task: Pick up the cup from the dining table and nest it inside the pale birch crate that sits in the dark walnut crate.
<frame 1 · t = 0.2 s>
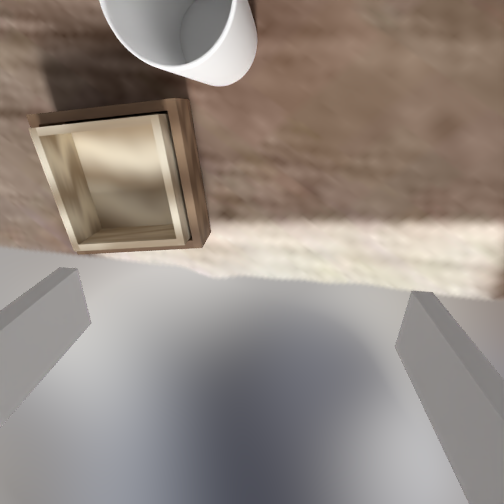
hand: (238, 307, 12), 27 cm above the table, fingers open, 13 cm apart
walnut crate: (139, 176, 38), on the table
cup: (218, 41, 32), on the table
birch crate: (135, 178, 38), resting on walnut crate
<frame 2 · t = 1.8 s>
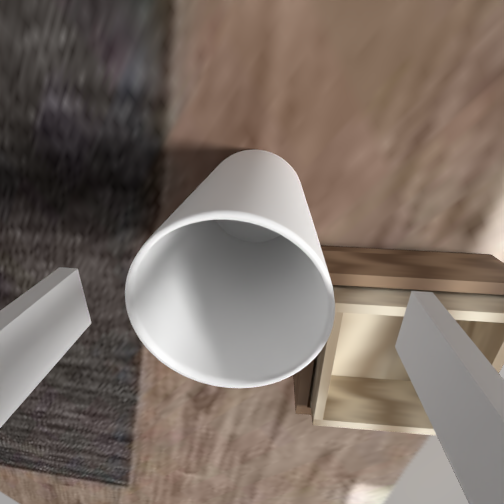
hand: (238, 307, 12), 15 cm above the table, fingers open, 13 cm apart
walnut crate: (379, 321, 31), on the table
cup: (254, 198, 26), on the table
birch crate: (382, 328, 30), resting on walnut crate
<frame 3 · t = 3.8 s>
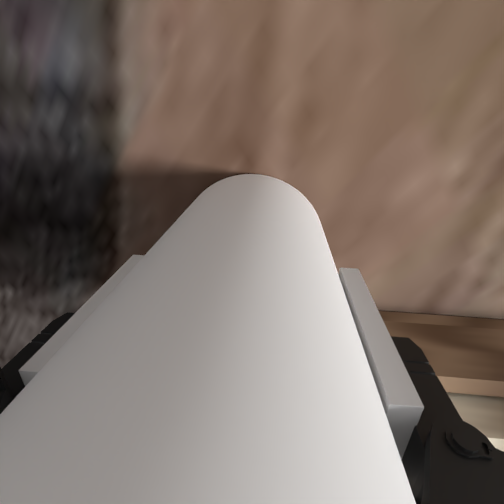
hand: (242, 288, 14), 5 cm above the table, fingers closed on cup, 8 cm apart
walnut crate: (425, 405, 22), on the table
cup: (252, 243, 18), on the table, touching gripper
birch crate: (431, 417, 21), resting on walnut crate
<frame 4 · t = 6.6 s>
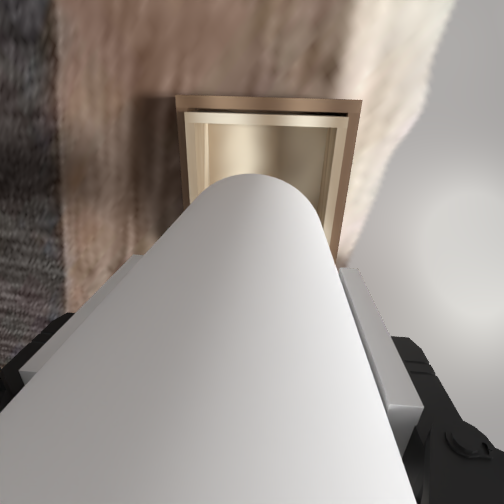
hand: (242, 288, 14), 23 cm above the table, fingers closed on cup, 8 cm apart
walnut crate: (265, 178, 34), on the table
cup: (252, 242, 18), point 18 cm above the table, touching gripper
birch crate: (264, 180, 33), resting on walnut crate
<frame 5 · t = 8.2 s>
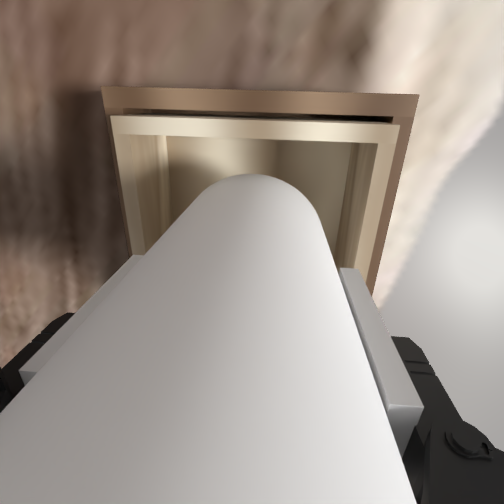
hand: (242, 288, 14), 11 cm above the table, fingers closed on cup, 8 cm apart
walnut crate: (256, 211, 23), on the table
cup: (252, 243, 18), point 6 cm above the table, touching gripper
birch crate: (255, 216, 22), resting on walnut crate
when the fingers open (8 cm above the table, at t = 9.6 s): cup drops 1 cm, resting on birch crate.
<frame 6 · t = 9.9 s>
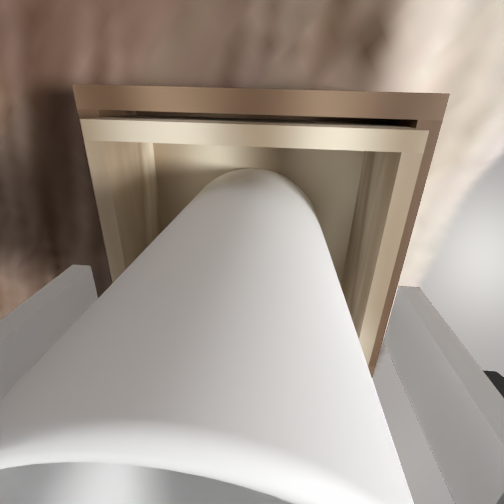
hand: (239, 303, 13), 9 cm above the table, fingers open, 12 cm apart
walnut crate: (255, 224, 21), on the table
cup: (252, 233, 19), point 2 cm above the table, touching birch crate
birch crate: (254, 230, 20), resting on walnut crate
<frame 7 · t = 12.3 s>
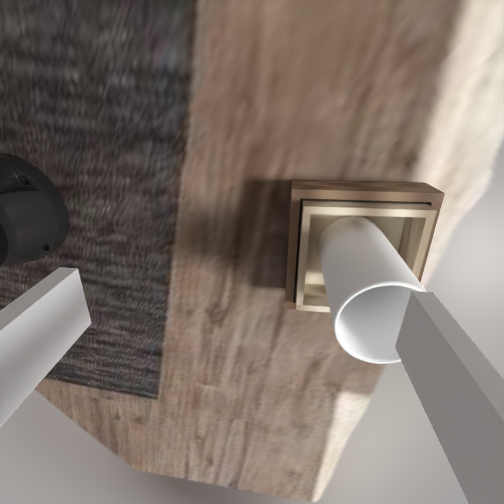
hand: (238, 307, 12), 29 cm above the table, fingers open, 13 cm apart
walnut crate: (348, 241, 41), on the table
cup: (349, 245, 40), point 2 cm above the table, touching birch crate
birch crate: (349, 244, 40), resting on walnut crate
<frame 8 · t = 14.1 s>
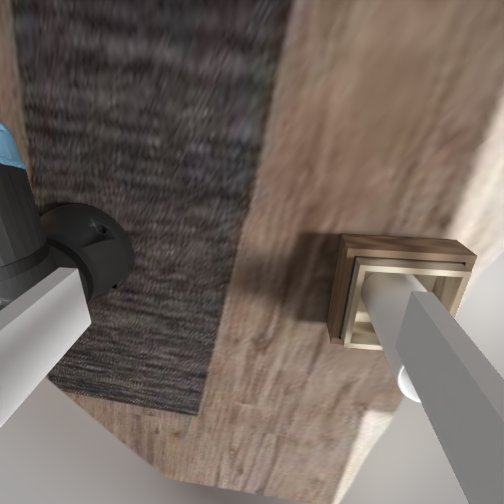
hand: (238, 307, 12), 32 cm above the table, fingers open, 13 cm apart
walnut crate: (386, 284, 47), on the table
cup: (388, 290, 46), point 2 cm above the table, touching birch crate
birch crate: (388, 288, 46), resting on walnut crate
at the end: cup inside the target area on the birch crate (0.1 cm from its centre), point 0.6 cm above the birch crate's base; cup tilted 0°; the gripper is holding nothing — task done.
